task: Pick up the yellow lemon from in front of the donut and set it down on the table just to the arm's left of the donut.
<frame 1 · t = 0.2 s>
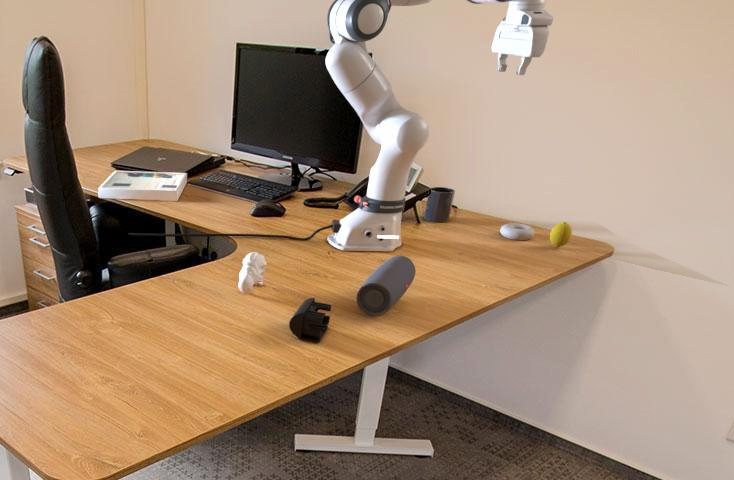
hand: (510, 73, 193), 48 cm above the table, tool pointing down, fingers open, 8 cm apart
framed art: (144, 190, 274), on the table
pen cup: (436, 219, 236), on the table
bluetooth speaker: (383, 305, 172), on the table
penguin figurine: (249, 288, 182), on the table
donut: (515, 237, 219), on the table
lemon: (556, 248, 209), on the table
end cap: (308, 333, 158), on the table
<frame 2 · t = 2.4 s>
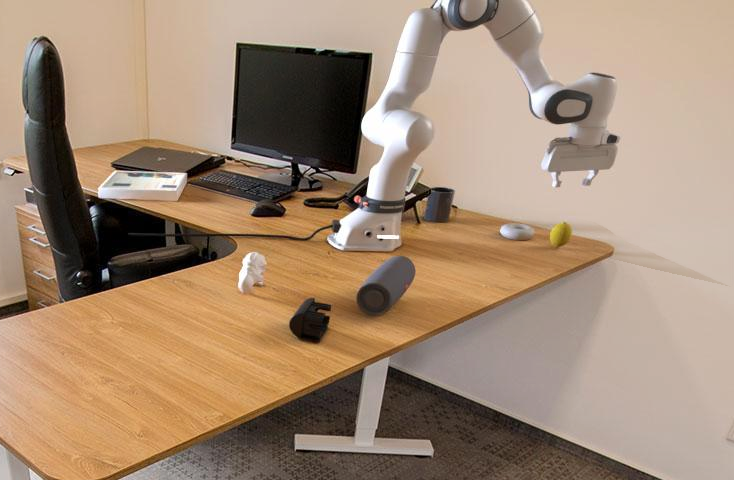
hand: (570, 186, 201), 18 cm above the table, tool pointing down, fingers open, 8 cm apart
nothing on the table moved.
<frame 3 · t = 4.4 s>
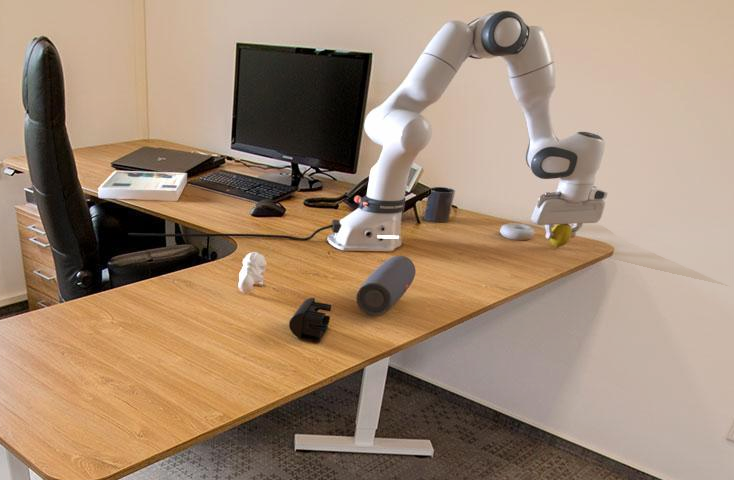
hand: (559, 237, 208), 3 cm above the table, tool pointing down, fingers closed on lemon, 5 cm apart
lemon: (556, 248, 209), on the table, touching gripper
everything else where it was.
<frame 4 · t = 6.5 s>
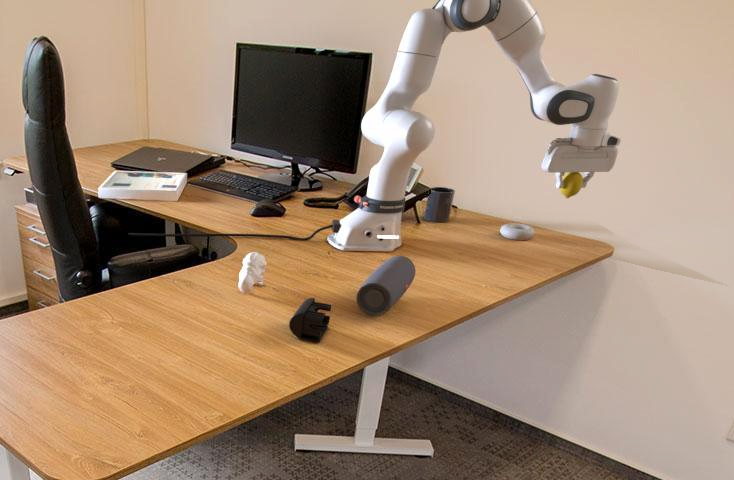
hand: (570, 187, 201), 18 cm above the table, tool pointing down, fingers closed on lemon, 5 cm apart
lemon: (566, 199, 203), point 15 cm above the table, touching gripper
everything else where it was.
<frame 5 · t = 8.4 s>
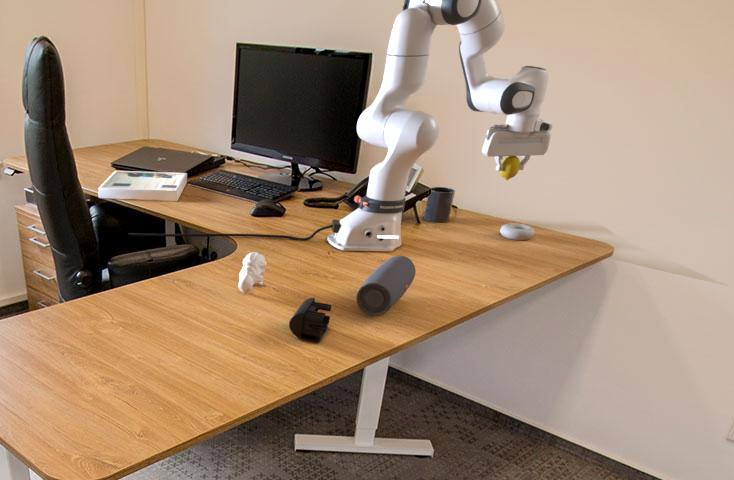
hand: (509, 170, 219), 18 cm above the table, tool pointing down, fingers closed on lemon, 5 cm apart
lemon: (506, 180, 221), point 15 cm above the table, touching gripper
everything else where it was.
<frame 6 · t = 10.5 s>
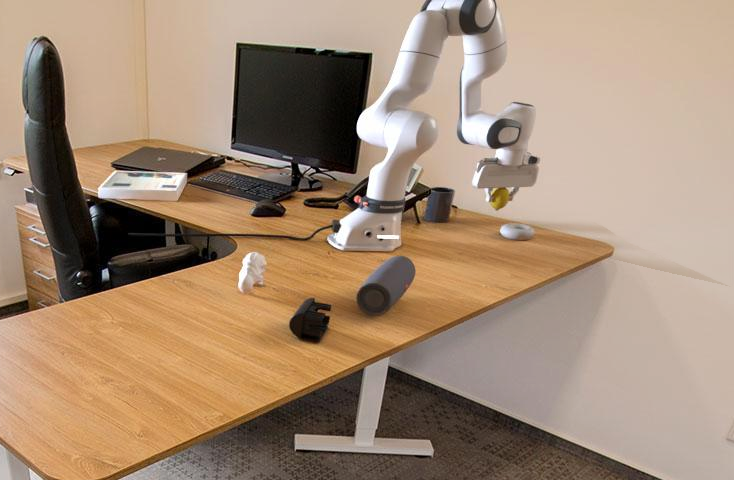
hand: (499, 201, 225), 8 cm above the table, tool pointing down, fingers closed on lemon, 5 cm apart
lemon: (496, 211, 227), point 5 cm above the table, touching gripper
everything else where it was.
when the fingers open (3 cm above the table, at t = 12.3 s): lemon stays where it is, on the table.
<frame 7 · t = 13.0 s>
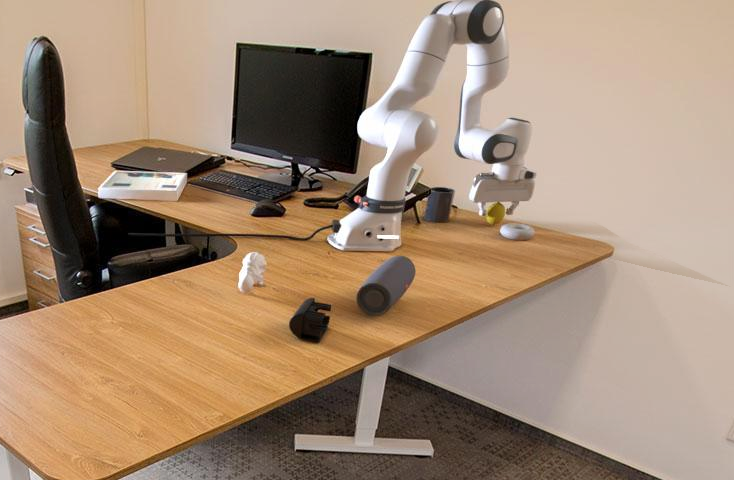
hand: (495, 214, 227), 4 cm above the table, tool pointing down, fingers open, 8 cm apart
lemon: (492, 226, 229), on the table
everything else where it was.
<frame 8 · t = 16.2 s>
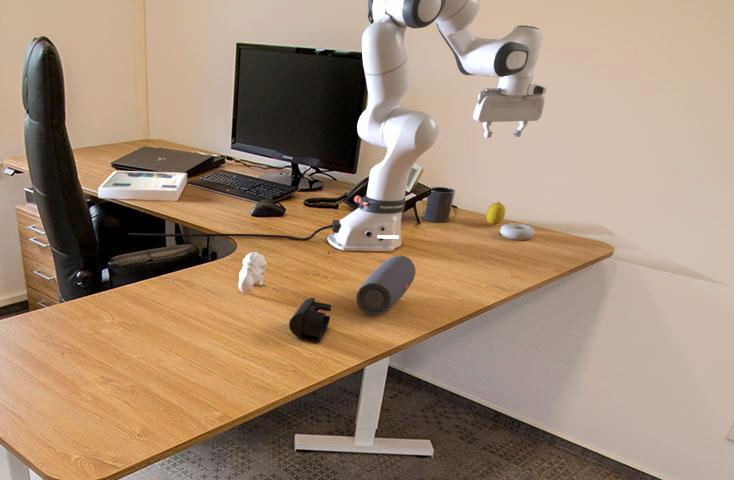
hand: (501, 136, 210), 29 cm above the table, tool pointing down, fingers open, 8 cm apart
nothing on the table moved.
at the end: lemon inside the target area on the table beside the donut (1.1 cm from its centre), on the table; the gripper is holding nothing; donut moved 0.2 cm from its start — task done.
